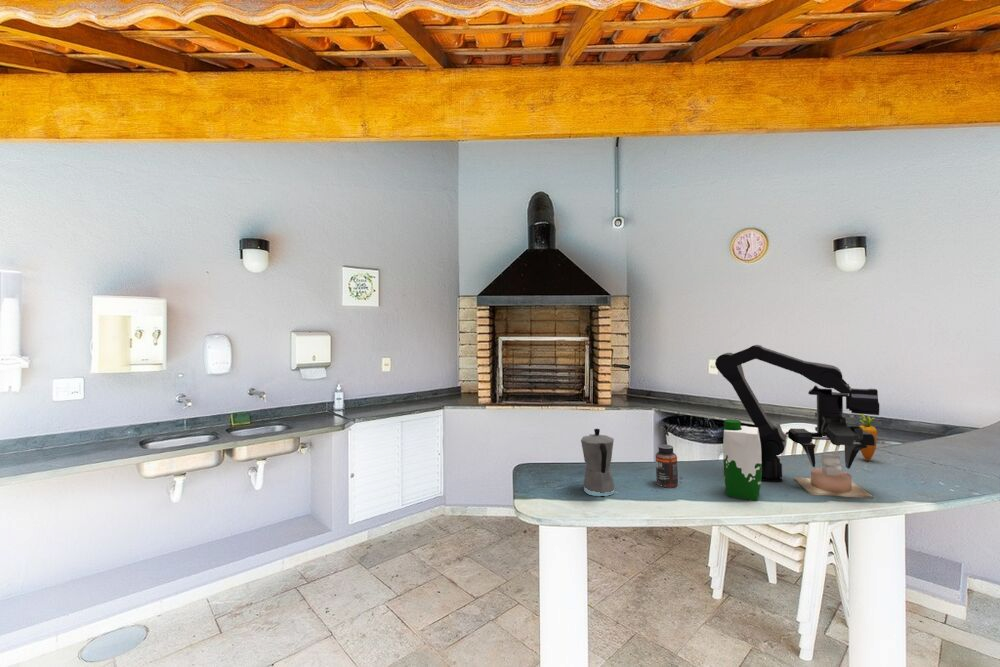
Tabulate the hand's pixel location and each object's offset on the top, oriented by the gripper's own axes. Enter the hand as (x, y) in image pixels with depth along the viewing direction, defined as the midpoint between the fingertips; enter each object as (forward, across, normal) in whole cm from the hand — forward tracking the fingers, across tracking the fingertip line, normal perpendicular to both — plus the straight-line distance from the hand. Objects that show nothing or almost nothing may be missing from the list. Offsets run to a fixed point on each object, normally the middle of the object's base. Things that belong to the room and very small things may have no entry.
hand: (830, 467), depth 119 cm
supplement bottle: (+6, -43, -4) cm, 44 cm away
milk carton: (+6, -24, -8) cm, 26 cm away
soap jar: (+6, 0, 0) cm, 6 cm away
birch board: (+6, 0, 0) cm, 6 cm away
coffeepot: (+6, -62, -13) cm, 64 cm away
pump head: (+2, 0, -2) cm, 2 cm away
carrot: (+6, +21, +26) cm, 34 cm away
